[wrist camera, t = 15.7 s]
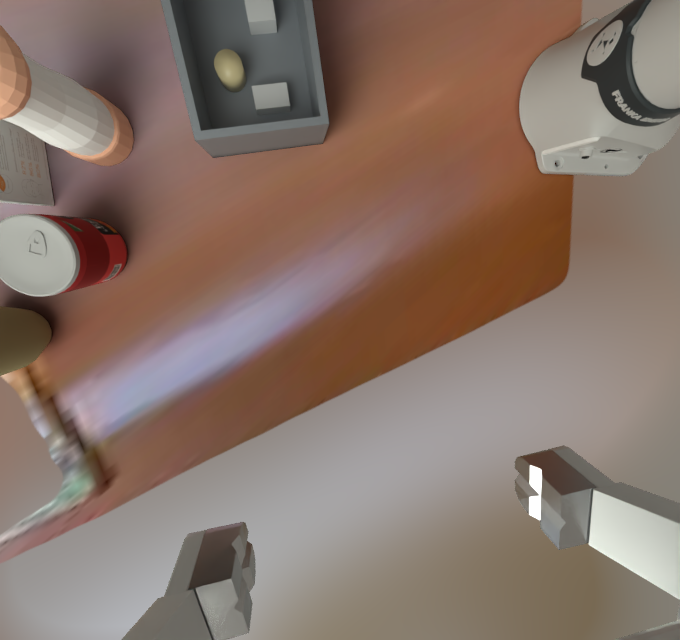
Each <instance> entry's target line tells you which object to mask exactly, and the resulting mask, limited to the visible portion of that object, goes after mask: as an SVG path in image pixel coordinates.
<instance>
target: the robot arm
mask: <svg viewBox="0 0 680 640" xmlns="http://www.w3.org/2000/svg"><path fill="white" fill-rule="evenodd" d="M519 113H520V120H521V125H522V128H523V131H524V133H525V136H526V138H527V139H528V141H529V142H530V144H531V145H532V147H533V149H534V151H535V154H536V160H537V164H538V168H539V170H540V171H541V172H542V173H545V174H570V175H600V176H626V175H630V174H632V173H633V172H634V171H636V170H637V169H638V168H639V166H640V165H641V164H642V163H643V161H644V160H645V159H646V157H647V156H648V154H649V153H652V152H655V151H657V150H659V149H661V148H662V147H663V146H665V145H666V144H667V143H668V141H670V139H671V138H672V137H673V135H674V134H675V132H676V131H677V129H678V128H679V125H680V0H633V1H632V2H630V3H628V4H626V5H624V6H623V7H621V8H619V9H617V10H616V11H614V12H612V13H610V14H609V15H607V16H605V17H603V18H602V19H600V20H599V19H597V18H593V19H591V20H589V21H588V22H586V23H584V24H583V25H582V26H581V27H579V28H578V29H577V30H576V31H575V33H574V34H573V35H572V36H571V37H569V38H566V39H564V40H562V41H560V42H558V43H555V44H553V45H552V46H550V47H549V48H547V49H546V50H545V51H544V52H542V53H541V54H540V55H539V57H538V58H537V59H536V60H535V61H534V63H533V64H532V66H531V67H530V69H529V71H528V73H527V75H526V77H525V80H524V82H523V86H522V89H521V94H520V102H519ZM555 162H556V166H555ZM515 469H516V470H517V471H518V472H519V475H518V476H517V478H516V479H515V491H516V494H517V496H518V499H519V501H520V503H521V504H522V506H523V507H524V509H525V510H526V511H527V513H528V514H529V515H531V516H533V517H535V518H537V519H539V520H540V526H541V529H542V530H543V532H544V533H545V534H546V535H547V536H548V538H549V539H550V540H551V541H552V542H553V543H554V545H555V546H556V547H557V548H558V549H559V550H560V549H565V548H569V547H573V546H578V545H582V544H586V543H589V545H590V546H591V547H593V548H595V549H597V550H598V551H600V552H601V553H603V554H605V555H606V556H608V557H610V558H611V559H613V560H615V561H616V562H618V563H620V564H621V565H623V566H625V567H626V568H628V569H630V570H631V571H633V572H634V573H636V574H638V575H640V576H641V577H643V578H645V579H646V580H648V581H649V582H651V583H653V584H655V585H656V586H658V587H660V588H661V589H663V590H664V591H666V592H668V593H669V594H671V595H673V596H674V597H676V598H678V599H679V600H680V503H677V502H675V501H672V500H669V499H666V498H664V497H661V496H658V495H655V494H652V493H650V492H647V491H643V490H641V489H638V488H635V487H633V486H630V485H627V484H624V483H622V482H619V483H614V482H613V481H612V480H611V479H609V478H608V477H607V476H605V475H604V474H603V473H602V472H600V471H599V470H598V469H596V468H595V467H594V466H592V465H591V464H590V463H588V462H587V461H586V460H584V459H583V458H582V457H581V456H579V455H578V454H577V453H575V452H574V451H573V450H572V449H570V448H569V447H566V446H560V447H556V448H552V449H548V450H544V451H540V452H536V453H532V454H528V455H524V456H520V457H517V458H516V460H515ZM247 538H248V529H247V526H246V523H244V522H240V523H235V524H231V525H226V526H221V527H217V528H211V529H207V530H204V531H200V532H194V533H189V534H188V535H187V537H186V538H185V539H184V542H183V545H182V548H181V550H180V553H179V556H178V559H177V562H176V564H175V567H174V570H173V573H172V576H171V578H170V581H169V584H168V587H167V590H166V593H165V595H164V597H161V598H158V599H157V600H156V601H155V602H154V603H153V604H152V606H151V607H150V608H149V609H148V610H147V611H146V613H145V614H144V615H143V616H142V617H141V618H140V619H139V620H138V622H137V623H136V624H135V625H134V626H133V627H132V628H131V629H130V631H129V632H128V633H127V634H126V635H125V636H124V637H123V639H122V640H227V639H230V638H234V637H237V636H240V635H244V634H247V633H249V628H250V620H251V611H252V600H251V597H250V593H249V592H250V590H251V589H252V588H253V586H254V584H255V555H254V550H253V546H252V544H251V543H249V542H248V541H247ZM677 619H678V620H677V621H674V622H671V623H668V624H665V625H661V626H658V627H654V628H651V629H648V630H645V631H641V632H638V633H635V634H631V635H628V636H624V637H621V638H618V639H615V640H680V605H679V610H678V615H677Z"/></svg>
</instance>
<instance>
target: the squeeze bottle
mask: <svg viewBox="0 0 680 640" xmlns="http://www.w3.org/2000/svg"><path fill="white" fill-rule="evenodd" d="M51 332H52V330H51V328H50V326H49V323H48V322H47V321H46V320H45V319H44V317H43V316H42V315H40V314H38V313H36V312H34V311H32V310H27V309H21V308H11V307H2V306H0V376H1V375H4V374H7V373H9V372H12V371H15V370H18V369H20V368H23V367H26V366H27V365H29V364H30V363H32V362H33V361H35V360H36V359H37V358H38V356H39V355H40V354H41V353H42V351H43V350H44V349H45V347H46V346H47V345H48V343H49V341H50V340H51Z"/></svg>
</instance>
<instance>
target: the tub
mask: <svg viewBox="0 0 680 640" xmlns="http://www.w3.org/2000/svg"><path fill="white" fill-rule="evenodd" d="M161 3H162V7H163V12H164V16H165V20H166V24H167V28H168V32H169V36H170V40H171V44H172V48H173V52H174V57H175V61H176V65H177V69H178V73H179V77H180V81H181V85H182V89H183V93H184V97H185V101H186V106H187V110H188V114H189V118H190V122H191V126H192V130H193V134H194V138H195V141H196V142H197V143H198V144H199V145H200V146H201V147H202V148H203V149H205V150H206V151H207V152H208V153H209V154H210V155H211V156H212V157H213V158H216V157H224V156H231V155H239V154H247V153H255V152H262V151H270V150H278V149H285V148H293V147H301V146H308V145H316V144H323V141H324V138H325V135H326V132H327V129H328V126H329V118H328V111H327V104H326V97H325V90H324V83H323V76H322V69H321V62H320V54H319V47H318V40H317V33H316V26H315V19H314V12H313V5H312V0H161Z"/></svg>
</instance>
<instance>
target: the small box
mask: <svg viewBox="0 0 680 640" xmlns="http://www.w3.org/2000/svg"><path fill="white" fill-rule="evenodd" d="M0 203H10V204H24V205H40V206H54V200H53V194H52V187H51V180H50V174H49V167H48V161H47V155H46V148H45V142H44V141H43V140H42V139H40V138H38V137H37V136H35V135H33V134H32V133H30V132H29V131H27V130H25V129H24V128H22V127H19V126H17V125H14V124H11V123H9V122H6V121H4V120H0Z"/></svg>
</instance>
